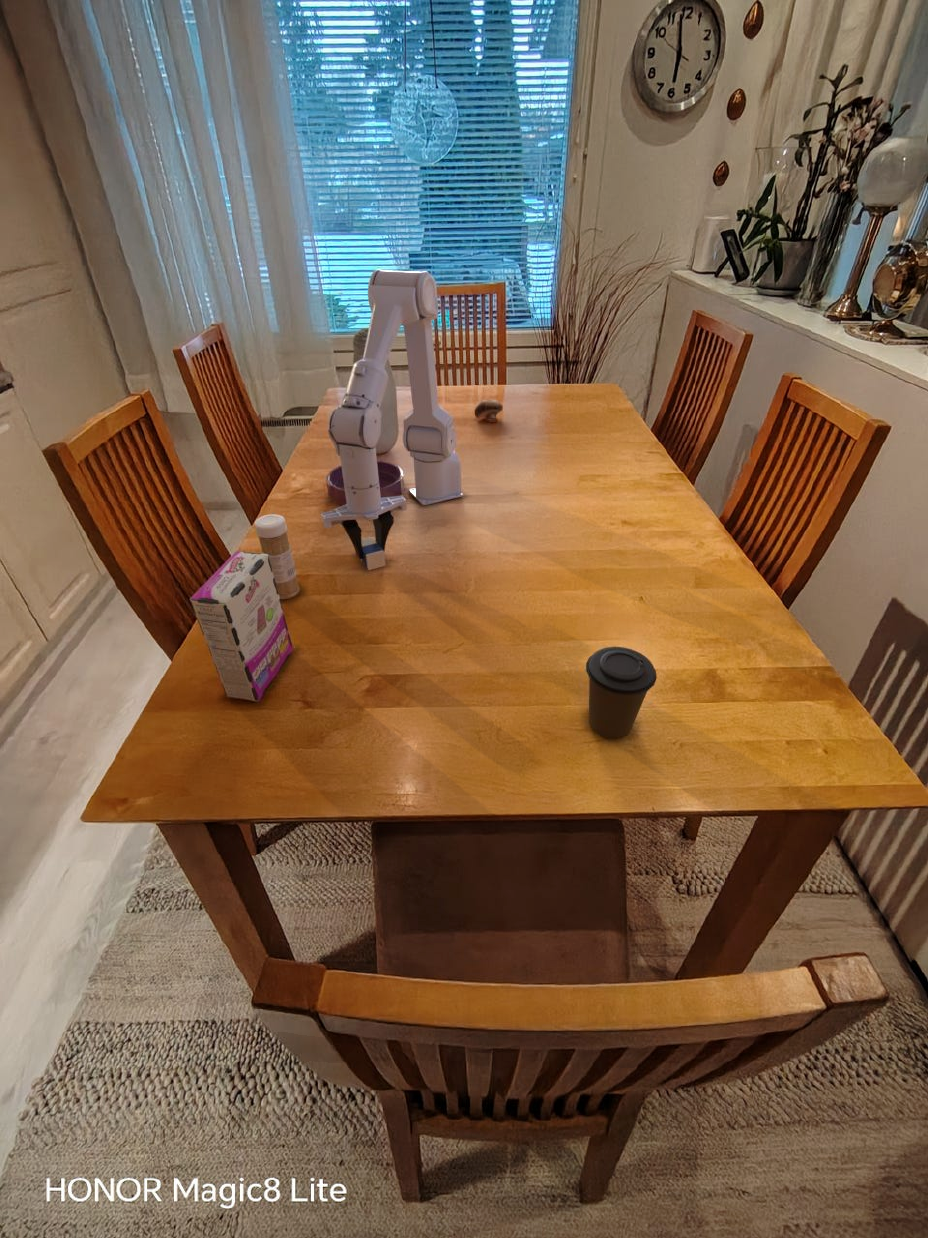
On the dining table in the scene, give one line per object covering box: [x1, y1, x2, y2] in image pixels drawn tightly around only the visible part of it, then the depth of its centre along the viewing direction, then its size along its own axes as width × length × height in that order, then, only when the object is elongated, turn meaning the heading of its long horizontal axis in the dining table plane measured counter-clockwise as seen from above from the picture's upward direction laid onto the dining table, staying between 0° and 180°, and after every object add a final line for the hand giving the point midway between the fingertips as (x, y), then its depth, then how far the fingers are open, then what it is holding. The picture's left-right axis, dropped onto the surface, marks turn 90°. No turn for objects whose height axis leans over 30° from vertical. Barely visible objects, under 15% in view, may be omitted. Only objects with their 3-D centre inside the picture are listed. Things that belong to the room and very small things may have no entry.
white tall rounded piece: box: [352, 327, 400, 455], centre depth 138 cm, size 10×10×28 cm
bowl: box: [325, 460, 405, 506], centre depth 127 cm, size 16×16×4 cm
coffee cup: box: [585, 646, 658, 740], centre depth 71 cm, size 8×8×10 cm
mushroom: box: [474, 398, 504, 423], centre depth 163 cm, size 8×8×6 cm
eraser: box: [360, 536, 386, 571], centre depth 104 cm, size 6×3×3 cm, turn 27°
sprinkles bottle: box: [254, 513, 300, 600], centre depth 93 cm, size 5×5×14 cm
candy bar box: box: [189, 550, 294, 703], centre depth 77 cm, size 11×5×16 cm, turn 168°
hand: (370, 553), depth 104 cm, fingers closed on eraser, 3 cm apart
